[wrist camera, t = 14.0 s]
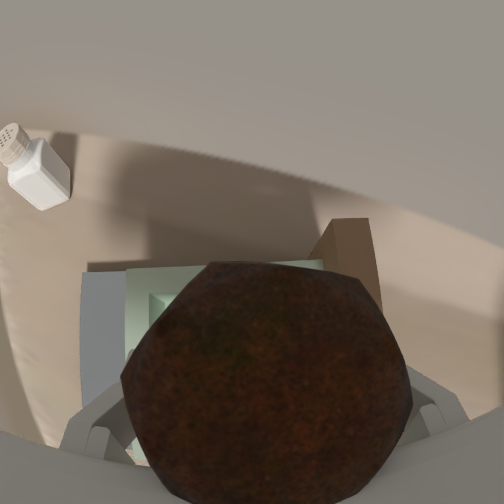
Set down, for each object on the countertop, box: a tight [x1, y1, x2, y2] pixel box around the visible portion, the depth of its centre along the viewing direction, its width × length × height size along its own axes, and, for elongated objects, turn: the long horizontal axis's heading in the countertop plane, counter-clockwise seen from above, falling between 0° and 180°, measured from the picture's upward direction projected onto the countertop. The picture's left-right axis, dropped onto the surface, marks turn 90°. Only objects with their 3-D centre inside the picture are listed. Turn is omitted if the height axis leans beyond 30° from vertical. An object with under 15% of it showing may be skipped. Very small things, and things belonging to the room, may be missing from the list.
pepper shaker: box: [0, 122, 70, 210], centre depth 21 cm, size 4×4×10 cm
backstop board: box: [80, 218, 383, 450], centre depth 17 cm, size 21×14×9 cm, turn 93°
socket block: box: [125, 259, 324, 460], centre depth 18 cm, size 12×12×5 cm
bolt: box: [120, 261, 413, 504], centre depth 12 cm, size 6×5×15 cm
